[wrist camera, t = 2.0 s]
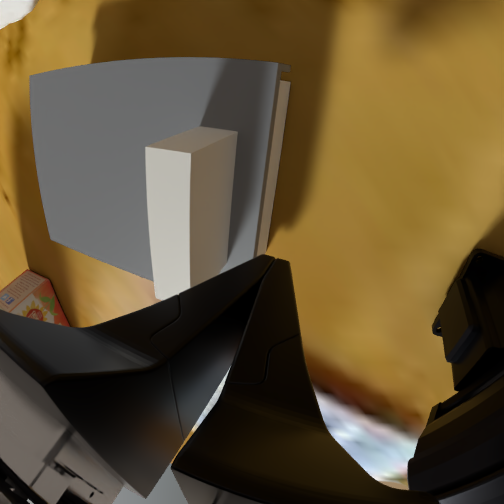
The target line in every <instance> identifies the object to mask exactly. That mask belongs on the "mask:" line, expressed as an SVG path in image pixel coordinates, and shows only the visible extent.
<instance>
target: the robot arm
mask: <svg viewBox="0 0 504 504" xmlns="http://www.w3.org/2000/svg"><path fill="white" fill-rule="evenodd" d="M479 256H481V258H480V259H479V260H476V258H477V257H479ZM438 313H439V315H438V316H437V318H436V320H435V321H434V323H433V325H432V332H433V334H434V335H437V336H441V337H443V344H444V352H445V358H446V361H447V362H450V363H451V365H452V373H453V382H454V390H455V391H459V392H458V393H456V394H455V395H453V396H452V397H450V398H449V399H447V400H446V401H444V402H443V403H441V402H440V403H438V404H437V405H435V406H433V407H432V409H431V412H430V416H429V419H428V422H427V425H426V428H425V429H424V431H423V433H422V434H421V436H420V437H419V439H418V443H417V446H416V450H415V453H414V458H411V459H410V460H409V461H408V469H407V480H408V487H409V490H401V489H396V488H391V487H389V486H386V485H384V484H382V483H380V482H378V481H377V480H375V479H374V478H373V477H371V476H370V475H369V474H368V473H367V472H366V471H365V470H364V469H363V468H362V467H361V466H360V465H359V464H358V463H357V462H356V461H355V460H354V459H353V458H352V457H351V456H350V455H349V454H348V453H347V452H346V450H345V449H344V448H343V447H342V446H341V445H340V444H339V443H338V442H337V441H336V440H335V439H334V438H333V437H332V435H331V434H330V433H329V431H328V429H327V427H326V425H325V423H324V420H323V417H322V414H321V411H320V408H319V405H318V402H317V398H316V395H315V392H314V389H313V386H312V382H311V379H310V376H309V372H308V369H307V365H306V361H305V356H304V351H303V345H302V338H301V332H300V325H299V319H298V312H297V305H296V299H295V292H294V286H293V280H292V273H291V267H290V262H289V261H286V260H283V259H279V258H277V259H275V257H272V256H269V255H265V254H261V255H259V256H257V257H255V258H253V259H251V260H248V261H246V262H244V263H242V264H240V265H238V266H236V267H234V268H231V269H229V270H227V271H225V272H223V273H221V274H219V275H217V276H215V277H212V278H210V279H208V280H206V281H204V282H202V283H200V284H198V285H195V286H193V287H191V288H189V289H187V290H185V291H183V292H180V293H179V295H178V294H176V295H174V296H172V297H170V298H167V299H165V300H163V301H161V302H158V303H156V304H154V305H151V306H149V307H146V308H143V309H141V310H138V311H135V312H132V313H130V314H127V315H124V316H121V317H118V318H115V319H112V320H109V321H106V322H103V323H100V324H97V325H94V326H90V327H83V328H75V327H68V326H63V325H58V324H54V323H49V322H45V321H41V320H36V319H32V318H28V317H24V316H20V315H16V314H13V313H9V312H6V311H4V310H1V309H0V504H30V503H28V502H27V499H29V500H31V501H32V502H33V503H34V504H112V503H113V501H114V500H115V498H116V497H117V495H118V494H119V492H120V491H121V489H122V487H125V488H127V489H128V490H130V491H132V492H134V493H136V494H137V495H139V496H141V497H143V498H145V499H146V498H147V496H148V495H149V494H150V492H151V491H152V489H153V488H154V487H155V485H156V483H157V482H158V480H159V479H160V478H161V476H162V474H163V473H164V472H165V470H166V468H167V467H168V465H169V464H170V462H171V461H172V459H173V458H174V456H175V455H176V453H177V452H178V450H179V449H180V447H181V445H182V444H183V442H184V440H185V439H186V438H187V436H188V434H189V433H190V431H191V430H192V428H193V426H194V425H195V423H196V422H197V420H198V419H199V417H200V415H201V414H202V412H203V411H204V409H205V407H206V406H207V404H208V402H209V401H210V399H211V398H212V396H213V394H214V393H215V391H216V389H217V388H218V386H219V385H220V383H221V381H222V380H223V378H224V376H225V375H226V373H227V371H228V370H229V368H230V370H229V373H228V376H227V378H226V381H225V385H224V387H223V389H222V392H221V394H220V396H219V399H218V401H217V402H216V404H215V405H214V407H213V408H212V409H211V411H210V412H209V413H208V415H207V416H206V417H205V419H204V420H203V421H202V423H201V424H200V425H199V427H198V428H197V429H196V431H195V432H194V433H193V435H192V436H191V437H190V439H189V440H188V441H187V443H186V444H185V445H184V446H183V448H182V449H181V450H180V452H179V453H178V454H177V456H176V458H175V459H174V461H173V463H172V466H171V470H172V472H173V474H174V476H175V478H176V480H177V482H178V484H179V486H180V488H181V490H182V492H183V494H184V496H185V498H186V500H187V501H188V503H189V504H504V258H503V257H501V256H498V255H496V254H493V253H490V252H488V251H485V250H482V249H476V250H474V251H473V252H472V253H471V255H470V257H469V259H468V261H467V263H466V265H465V267H464V269H463V271H462V273H461V275H460V277H459V278H458V279H457V280H456V281H455V282H454V284H453V286H452V288H451V289H450V291H449V293H448V295H447V297H446V298H445V300H444V302H443V304H442V306H441V307H440V309H439V311H438ZM439 327H441V328H439ZM437 328H439V329H437ZM230 366H231V367H230Z"/></svg>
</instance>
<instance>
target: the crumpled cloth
mask: <svg viewBox="0 0 504 504" xmlns="http://www.w3.org/2000/svg"><path fill="white" fill-rule="evenodd" d="M38 1H39V0H0V29H2V28H4V27H5V26H7V25H8V24H9V23H13V22H17V21H19V20H21V19H23V18H24V17H25V15H27V14H28V13H29V12H31V11H32V10H33V9H34V8H35V6H36V4H37V3H38Z"/></svg>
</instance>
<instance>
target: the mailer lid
mask: <svg viewBox="0 0 504 504" xmlns="http://www.w3.org/2000/svg"><path fill="white" fill-rule="evenodd" d="M290 68H291V65H286V64H281V63H276V62H267V61H257V60H245V59H231V58H208V57H168V58H145V59H131V60H120V61H110V62H102V63H94V64H87V65H81V66H74V67H69V68H63V69H58V70H53V71H48V72H44V73H39V74H35V75H31V76H30V109H31V124H32V135H33V145H34V154H35V161H36V169H37V175H38V181H39V187H40V193H41V198H42V203H43V208H44V213H45V218H46V222H47V227H48V231H49V235H50V239H51V240H53V241H55V242H57V243H60V244H62V245H64V246H67V247H69V248H71V249H74V250H76V251H78V252H81V253H83V254H85V255H88V256H90V257H93V258H95V259H97V260H100V261H102V262H105V263H107V264H110V265H112V266H115V267H117V268H120V269H122V270H125V271H127V272H130V273H133V274H135V275H138V276H140V277H143V278H146V279H148V280H151V281H154V288H155V296H156V298H158V299H160V300H165V299H167V298H170V297H172V296H174V295H176V294H178V295H179V293H180V292H183V291H185V290H187V289H189V288H191V287H193V286H195V285H198V284H200V283H202V282H204V281H206V280H208V279H210V278H212V277H215V276H217V275H219V274H221V273H223V272H225V271H227V270H229V269H231V268H234V267H236V266H238V265H240V264H242V263H244V262H246V261H248V260H251V259H253V258H255V257H257V251H258V243H259V236H260V229H261V221H262V214H263V207H264V199H265V192H266V184H267V177H268V170H269V162H270V155H271V147H272V140H273V132H274V124H275V117H276V109H277V102H278V94H279V86H280V79H281V71H283V72H290Z"/></svg>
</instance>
